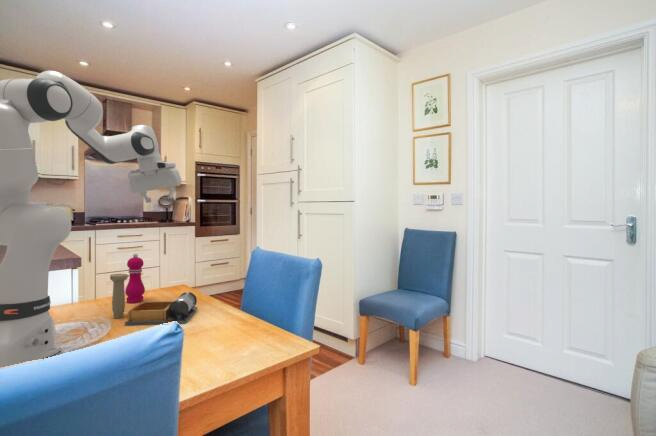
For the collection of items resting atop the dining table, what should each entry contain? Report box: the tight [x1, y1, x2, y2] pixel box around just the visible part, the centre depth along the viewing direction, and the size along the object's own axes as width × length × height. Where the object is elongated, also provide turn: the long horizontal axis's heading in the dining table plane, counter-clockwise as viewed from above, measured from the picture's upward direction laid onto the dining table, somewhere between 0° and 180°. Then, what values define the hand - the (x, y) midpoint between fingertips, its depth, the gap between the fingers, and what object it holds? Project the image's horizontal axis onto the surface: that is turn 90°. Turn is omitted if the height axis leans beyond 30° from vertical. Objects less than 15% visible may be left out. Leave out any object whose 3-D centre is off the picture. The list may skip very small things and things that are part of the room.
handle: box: [109, 273, 129, 319], centre depth 123 cm, size 5×6×15 cm
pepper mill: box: [124, 253, 146, 304], centre depth 145 cm, size 7×7×20 cm
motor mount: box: [124, 291, 198, 327], centre depth 124 cm, size 18×19×7 cm
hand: (159, 200), depth 142 cm, fingers open, 8 cm apart
